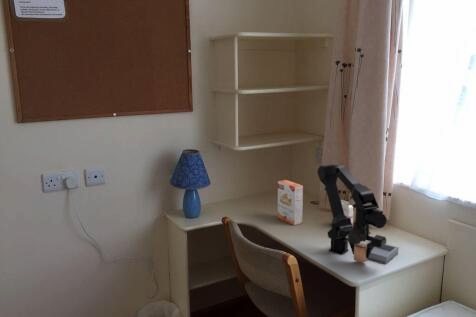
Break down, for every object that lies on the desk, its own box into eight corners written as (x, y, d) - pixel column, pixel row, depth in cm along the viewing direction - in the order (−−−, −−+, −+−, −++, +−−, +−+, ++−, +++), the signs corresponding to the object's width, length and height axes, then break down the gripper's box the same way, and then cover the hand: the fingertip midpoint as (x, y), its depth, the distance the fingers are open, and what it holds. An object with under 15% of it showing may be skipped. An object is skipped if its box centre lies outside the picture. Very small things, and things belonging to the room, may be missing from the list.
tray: (356, 255, 188) (357, 248, 188) (369, 246, 198) (370, 239, 197) (386, 263, 180) (386, 257, 179) (398, 253, 190) (398, 247, 189)
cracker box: (276, 218, 235) (277, 180, 231) (285, 216, 238) (286, 179, 234) (293, 226, 223) (294, 186, 219) (302, 223, 227) (303, 184, 222)
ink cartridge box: (353, 227, 220) (354, 200, 217) (348, 230, 217) (349, 202, 214) (338, 223, 226) (339, 196, 223) (333, 226, 223) (334, 198, 220)
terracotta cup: (351, 259, 180) (351, 245, 178) (357, 255, 184) (357, 241, 183) (363, 263, 176) (364, 249, 175) (369, 258, 180) (370, 245, 179)
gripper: (332, 220, 176) (330, 256, 180) (376, 231, 165) (374, 269, 168) (344, 213, 185) (343, 248, 188) (388, 223, 173) (385, 259, 176)
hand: (360, 256), depth 180 cm, fingers closed on terracotta cup, 5 cm apart
